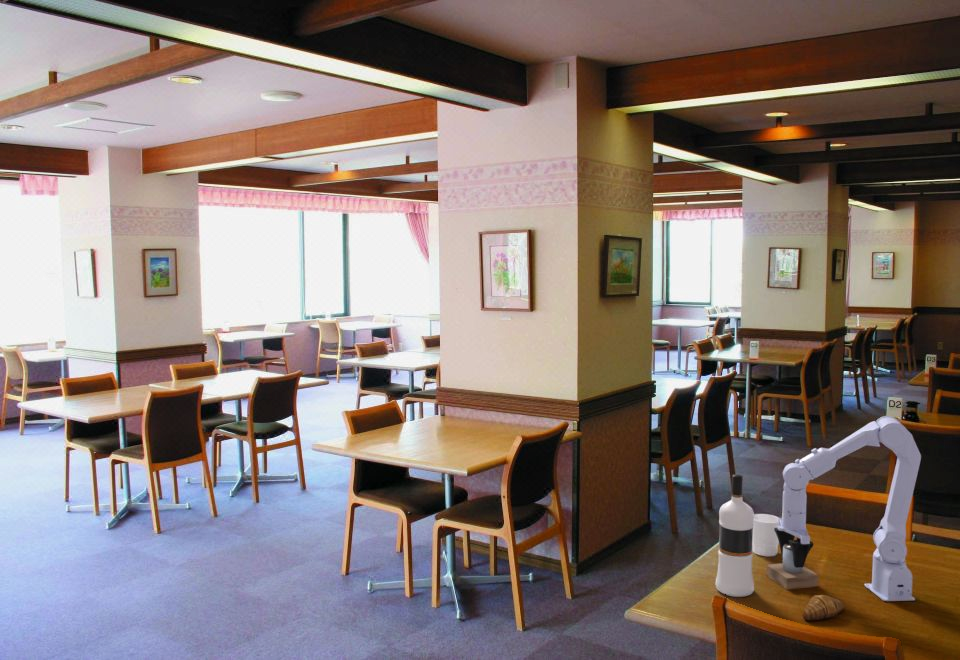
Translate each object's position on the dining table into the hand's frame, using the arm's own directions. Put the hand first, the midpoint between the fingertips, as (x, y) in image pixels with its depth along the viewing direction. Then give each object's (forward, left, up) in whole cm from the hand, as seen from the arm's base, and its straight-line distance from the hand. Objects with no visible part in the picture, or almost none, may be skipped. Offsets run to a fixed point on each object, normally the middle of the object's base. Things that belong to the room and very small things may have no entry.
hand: (792, 561), depth 206 cm
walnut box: (0, 0, -5) cm, 5 cm away
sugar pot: (0, 0, -2) cm, 2 cm away
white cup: (+20, -1, -6) cm, 21 cm away
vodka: (-5, +17, -6) cm, 19 cm away
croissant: (-19, +1, -6) cm, 20 cm away
